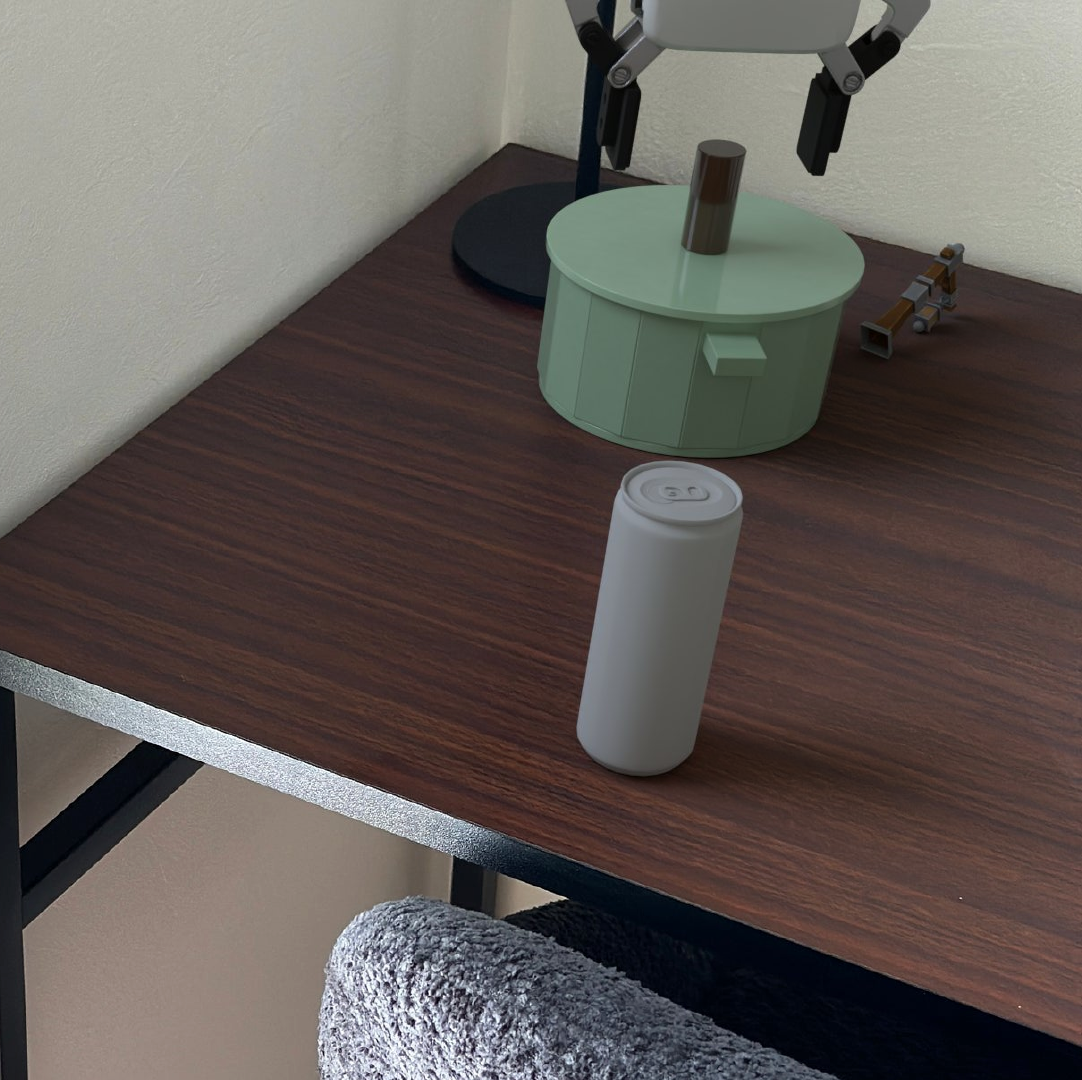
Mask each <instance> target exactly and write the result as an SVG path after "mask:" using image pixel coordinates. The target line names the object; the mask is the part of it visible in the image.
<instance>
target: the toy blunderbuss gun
mask: <svg viewBox="0 0 1082 1080" xmlns="http://www.w3.org/2000/svg"><path fill="white" fill-rule="evenodd" d="M965 250H966V248H965V245H964V244H963V243H961V242H957V243H954V244H950V243H947V244H946V246H944V247H943V249H942V250H941V251H940V252H939V253H938V255H937V256H936V257H935V258H933V264H932V265H931V266H930V268H929V269H927V271H925V272H924V274H923V275H920V274H919V275H918V276H917V277H916V278H915V281H912V282H911V284H910V286H908V288H907V289H906V290H905V291H904V292H903V293H902V294H900V300H899V301H898V302H896V304H895V305H894V306H892V308H890V309H889V310H888V311H887V312H885V313H884V314H883V315H882V316H881V317H879V318H878V319H876V320H875V321H874V322H869V321H867V320H864V321H863V322H862V323H859V336H860V337H859V338H860V340H859V341H860V349H862V350H865V351H866V352H870V353H872V354H875V355H877V356H879V357H882V358H884V359H886V360H890V356H891V355H893V341H894V339H895V337H896V336H897V335H898V333H899V331H900V330H901V328H903V326H904V324H905V323H906V322H907V320H908V319H909V318H910V317H911V316H912V315H914V317H913V318H914V320H913V322H914V323H913V325H912V329H913V331H914V332H916V333H921V332H923V331H925V332H927V333H930V331H931V328H932V327H933V325H934V324H935V323H936V321H937V322H942V311H944V310H945V311H947V312H950V313H952V312H953V311H954V310H955V309H956V308H957V306H958V305H957V302H958V300H957V299H958V298H959V289H958V287H956V286H957V284H956V283H957V281H956V270H957V268H958V267H959V266H960V265H961V264H962V263H964V254H965ZM937 286H939V287H941V289H940V291H939V299H938V300H936V299H933V302H932V303H931V302H929V297H930V298H933V295H935V289H936V288H937ZM922 307H923V308H922ZM920 308H922V309H921V310H920ZM919 310H920V311H919ZM918 311H919V312H918Z"/></svg>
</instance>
